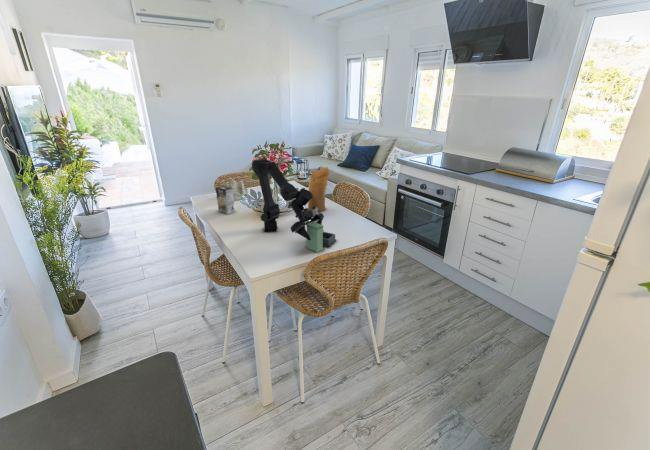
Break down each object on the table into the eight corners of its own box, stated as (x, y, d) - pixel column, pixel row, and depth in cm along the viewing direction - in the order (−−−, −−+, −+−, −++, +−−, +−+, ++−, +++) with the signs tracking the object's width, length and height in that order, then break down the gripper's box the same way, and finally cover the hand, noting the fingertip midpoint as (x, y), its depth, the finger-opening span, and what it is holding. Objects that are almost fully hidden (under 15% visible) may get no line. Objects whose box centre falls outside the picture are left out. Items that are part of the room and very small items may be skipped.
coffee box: (218, 211, 201) (214, 187, 195) (225, 208, 206) (223, 185, 200) (228, 214, 197) (225, 189, 190) (235, 211, 202) (233, 187, 195)
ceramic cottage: (251, 197, 227) (248, 177, 221) (228, 202, 219) (224, 181, 214) (244, 193, 239) (241, 173, 234) (223, 197, 232) (219, 177, 226)
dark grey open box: (309, 242, 162) (308, 235, 160) (316, 236, 168) (316, 229, 167) (329, 247, 157) (329, 240, 155) (336, 241, 164) (336, 234, 162)
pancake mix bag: (331, 209, 208) (332, 167, 196) (311, 216, 194) (311, 172, 183) (323, 206, 212) (324, 165, 200) (303, 214, 198) (303, 170, 187)
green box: (306, 247, 156) (306, 223, 151) (312, 245, 159) (312, 221, 154) (317, 252, 152) (317, 228, 147) (322, 249, 155) (323, 225, 150)
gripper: (293, 206, 142) (311, 235, 140) (321, 197, 155) (338, 223, 153) (283, 218, 150) (299, 246, 148) (310, 208, 163) (326, 233, 161)
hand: (316, 237), depth 152 cm, fingers open, 9 cm apart
